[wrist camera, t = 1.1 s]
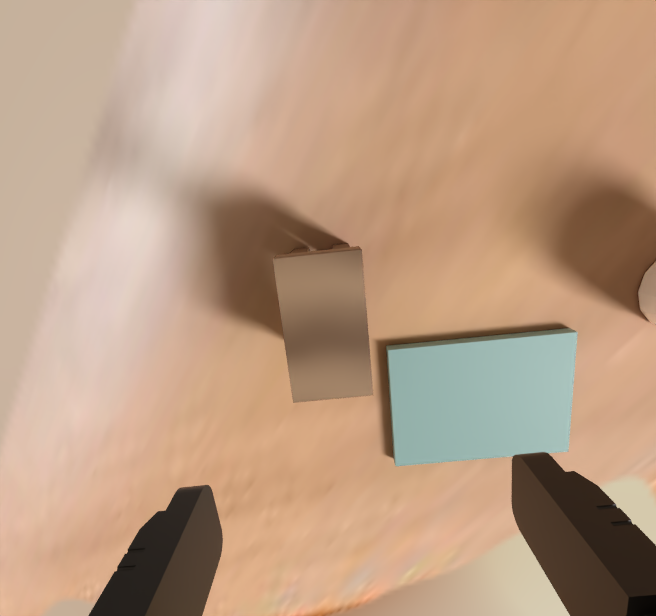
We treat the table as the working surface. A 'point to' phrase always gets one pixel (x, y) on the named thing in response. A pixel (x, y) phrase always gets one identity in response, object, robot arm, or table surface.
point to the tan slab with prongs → (324, 322)
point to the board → (481, 396)
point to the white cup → (648, 294)
